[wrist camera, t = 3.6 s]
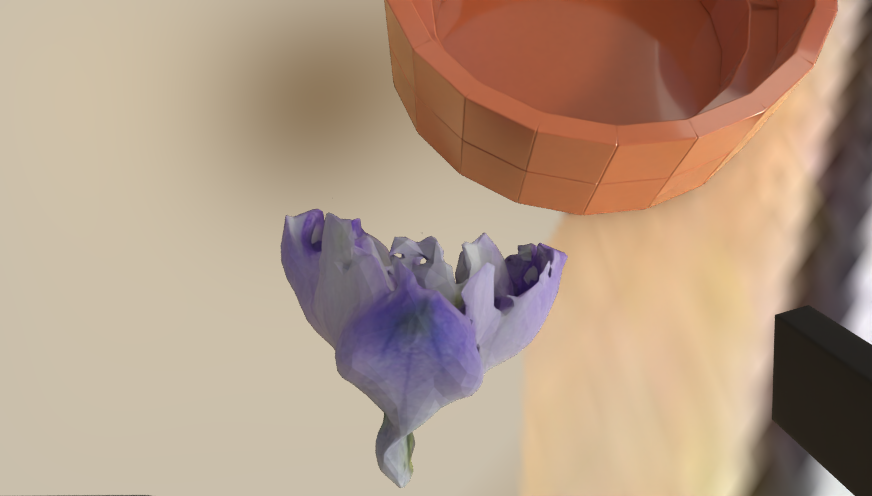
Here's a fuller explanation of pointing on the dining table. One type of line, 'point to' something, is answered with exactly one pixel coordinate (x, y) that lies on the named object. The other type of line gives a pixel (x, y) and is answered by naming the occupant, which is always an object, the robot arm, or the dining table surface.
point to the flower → (414, 316)
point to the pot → (598, 89)
